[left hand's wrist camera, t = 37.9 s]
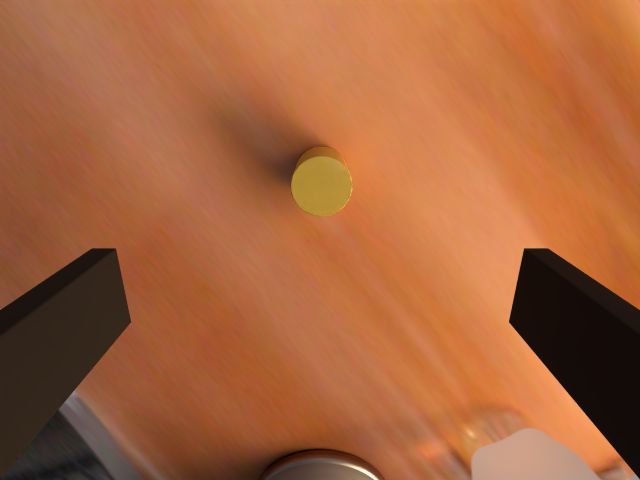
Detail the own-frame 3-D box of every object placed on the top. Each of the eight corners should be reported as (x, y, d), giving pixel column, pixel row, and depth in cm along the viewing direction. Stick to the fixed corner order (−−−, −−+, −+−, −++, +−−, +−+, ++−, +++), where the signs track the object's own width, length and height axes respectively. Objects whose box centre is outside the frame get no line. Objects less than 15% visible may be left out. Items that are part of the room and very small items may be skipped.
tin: (335, 206, 31) (338, 224, 26) (287, 187, 30) (282, 203, 26) (356, 158, 29) (362, 169, 25) (306, 137, 29) (303, 146, 25)
